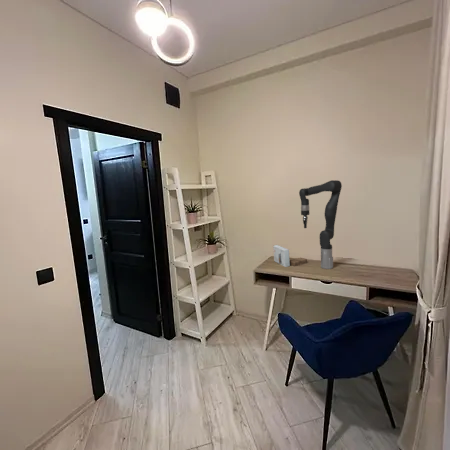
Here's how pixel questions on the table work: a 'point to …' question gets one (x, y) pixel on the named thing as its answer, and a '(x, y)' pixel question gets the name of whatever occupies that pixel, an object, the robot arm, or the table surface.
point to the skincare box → (281, 255)
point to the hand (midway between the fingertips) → (305, 228)
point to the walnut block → (298, 261)
